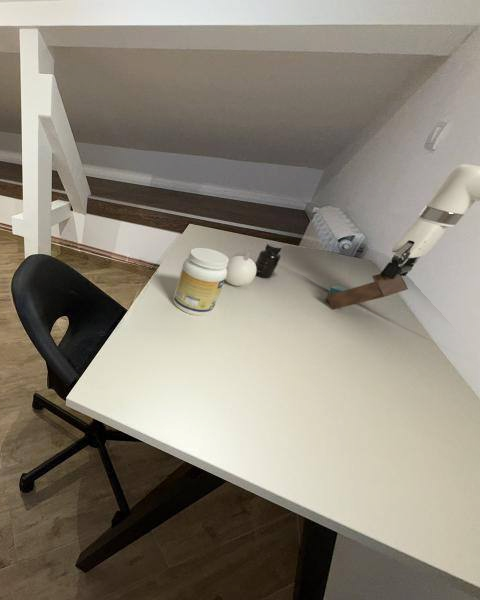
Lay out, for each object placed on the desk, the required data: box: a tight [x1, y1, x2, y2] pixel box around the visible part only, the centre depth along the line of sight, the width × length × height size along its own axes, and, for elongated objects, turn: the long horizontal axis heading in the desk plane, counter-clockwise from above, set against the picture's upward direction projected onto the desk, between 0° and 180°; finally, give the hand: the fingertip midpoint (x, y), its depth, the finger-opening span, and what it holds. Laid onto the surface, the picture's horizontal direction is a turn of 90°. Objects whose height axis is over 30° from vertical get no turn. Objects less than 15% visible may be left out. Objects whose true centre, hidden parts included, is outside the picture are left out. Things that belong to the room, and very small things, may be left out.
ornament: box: [225, 252, 257, 287], centre depth 106 cm, size 10×10×12 cm
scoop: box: [326, 265, 413, 310], centre depth 96 cm, size 18×14×7 cm
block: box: [325, 284, 349, 301], centre depth 104 cm, size 4×4×4 cm
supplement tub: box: [172, 247, 230, 316], centre depth 91 cm, size 12×12×17 cm
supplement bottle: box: [254, 242, 283, 279], centre depth 115 cm, size 7×7×12 cm
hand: (392, 274), depth 91 cm, fingers closed on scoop, 6 cm apart
